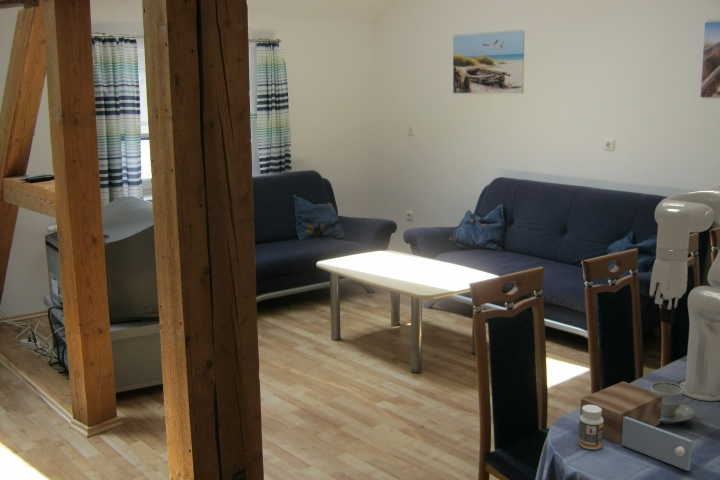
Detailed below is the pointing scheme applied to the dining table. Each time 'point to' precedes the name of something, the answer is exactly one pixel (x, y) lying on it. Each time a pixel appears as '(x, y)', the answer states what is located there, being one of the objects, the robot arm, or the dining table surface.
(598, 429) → the pill bottle
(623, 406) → the cabinet
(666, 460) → the door
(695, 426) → the dining table surface
